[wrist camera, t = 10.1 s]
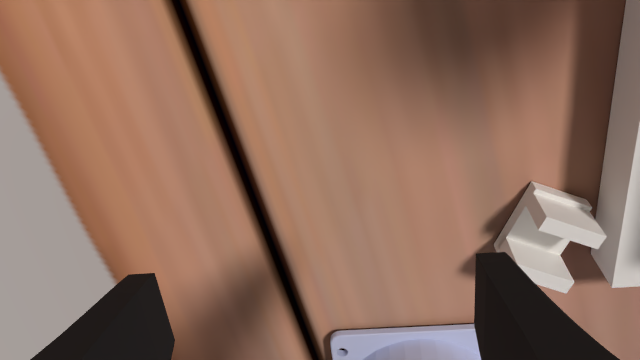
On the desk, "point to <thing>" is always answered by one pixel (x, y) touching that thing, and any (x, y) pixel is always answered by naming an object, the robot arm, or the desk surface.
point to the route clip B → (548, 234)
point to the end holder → (622, 165)
